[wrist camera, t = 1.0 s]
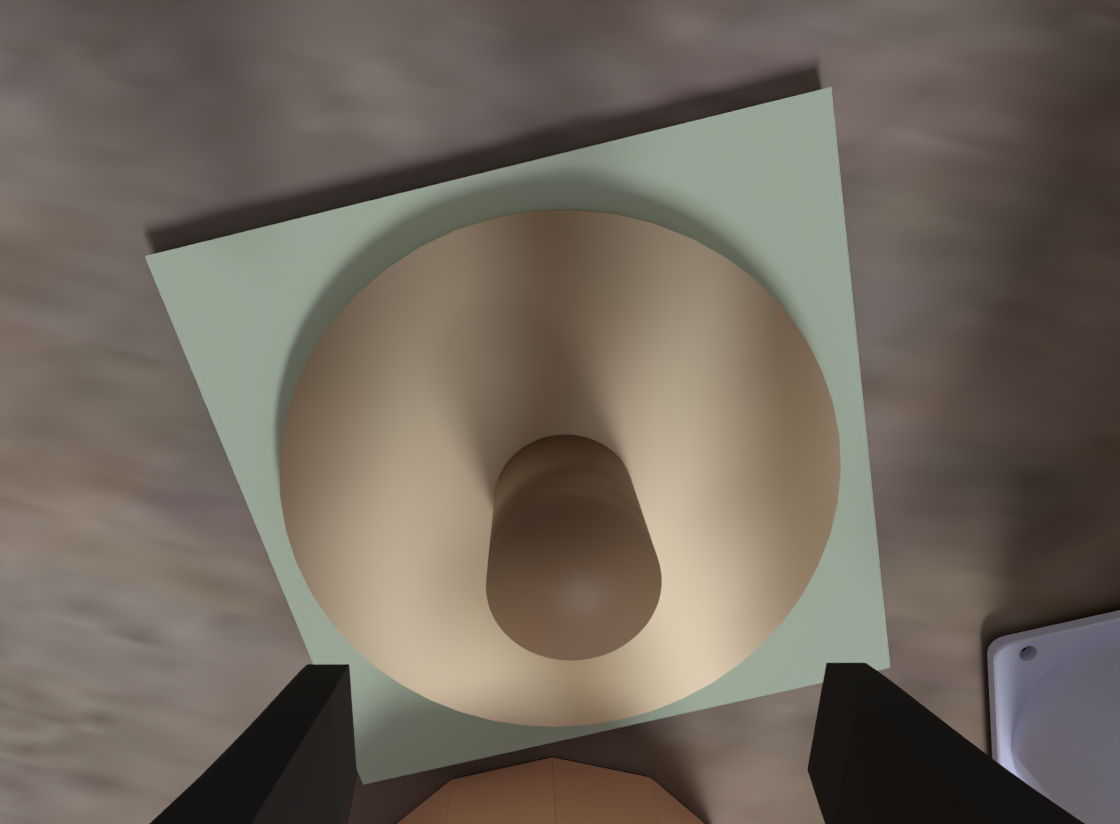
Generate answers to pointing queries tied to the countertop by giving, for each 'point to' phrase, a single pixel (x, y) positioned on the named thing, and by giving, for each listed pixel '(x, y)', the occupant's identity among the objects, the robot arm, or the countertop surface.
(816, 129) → the mat
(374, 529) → the lid
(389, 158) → the countertop surface
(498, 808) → the bowl
